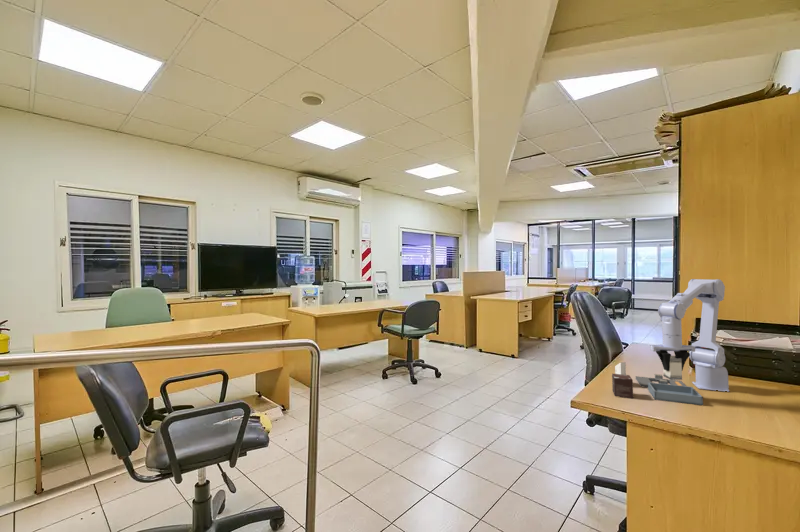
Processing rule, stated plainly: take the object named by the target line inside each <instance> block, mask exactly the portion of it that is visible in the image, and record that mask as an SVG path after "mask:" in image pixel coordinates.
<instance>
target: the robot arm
mask: <svg viewBox="0 0 800 532" xmlns="http://www.w3.org/2000/svg"><path fill="white" fill-rule="evenodd" d="M687 284H688V285H687V288H686V289H685V290H684V292H677V293H676V295H674V296H673V297H672V298H671V299H670V300H669V301H667V302H662V303H660V304H659V307H658V309H657V313H658V316H659V319H660V322H661V326H662V327H661V329H662V330H661V331H662V344H656V345H655V344H653V345H650V347H649V348H650V351H651V352H655V353H656V354H657V355H658V357H659V360H660V362H661V365H662V367H663V368H664V370H667V371H669V369H670V357H671V356H672V354H671V353H669V352H673V353H674V356H676V357H679V358H681V359H682V372H683V370H684V367H685V364H686V361H687V360H688V359H689V360H691V361H690V362H692V363H693V365H694V366H695V367H694V368H695V381H691V383H692V384H693V385H694V386H695V387H696V388H697V389H700V390H707V391H708V390H709V391H716V390H718V392H725V391H727V392H728V393H729V392H730V389H729V388H730V387H729V372H728V370H727V369H728V368H726V367H725V363H726V355H725V348H724V347H723V346H722V345H720V344H718V343H717V328H718V317H719V307H720V306H719V305H720V302H722V301H724V300H725V299H724V298H725V291H726V286H725V284H724V282H723V281H722V280H721V279H720V278H719V279H718V278H716V279H702V278H697V279H696V278H692V279H690V280H689V281H688V283H687ZM694 299H697V300H699V301H700V302H701V303H702V306H701V315H700V316H701V318H700V327H699V329H700V330H699V338H698V340H696V341H694V342H691V345H689V344H687V345H686V344H683V331H682V330H683V329H682V319H683V318H684V317H685V315H686V312H687V309H688V308H690V306H691V305H693V303H694V301H693V300H694ZM727 392H726V393H727Z"/></svg>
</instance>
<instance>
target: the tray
mask: <svg viewBox="0 0 800 532" xmlns="http://www.w3.org/2000/svg"><path fill="white" fill-rule="evenodd" d="M647 390H648V392H649V393H650V395H651V396H652V398H653V399H654V400H655V401H663V402H672V403H679V404H686V405H695V406H702V405H703V406H704V397H703V396H702V395H701V394H700V393H699V392H698V391H697V390H696V388H694V387H693V386H687V385H686V386H678V385H670V384H669V383H668V384H659V382H657V383H656V382H652V383H650V382H648V387H647Z"/></svg>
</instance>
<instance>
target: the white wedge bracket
mask: <svg viewBox="0 0 800 532" xmlns="http://www.w3.org/2000/svg"><path fill="white" fill-rule="evenodd" d="M626 366H627V364H626V362H625V361H624V362H619V363H617V364H616V365H615V366H614V374H623V375H627V372H626V371H627V369H626V368H627V367H626Z"/></svg>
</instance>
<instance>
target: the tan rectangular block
mask: <svg viewBox="0 0 800 532" xmlns="http://www.w3.org/2000/svg"><path fill="white" fill-rule="evenodd" d="M662 370H663V374H662V376H663V378H664V377H665V378H666V379H668V380H678V381H682V380H683V371H682V359H681V358H679V357H676V356H675V355H671V357H670V369H669V371H667V370H664V368H663V369H662Z"/></svg>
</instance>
